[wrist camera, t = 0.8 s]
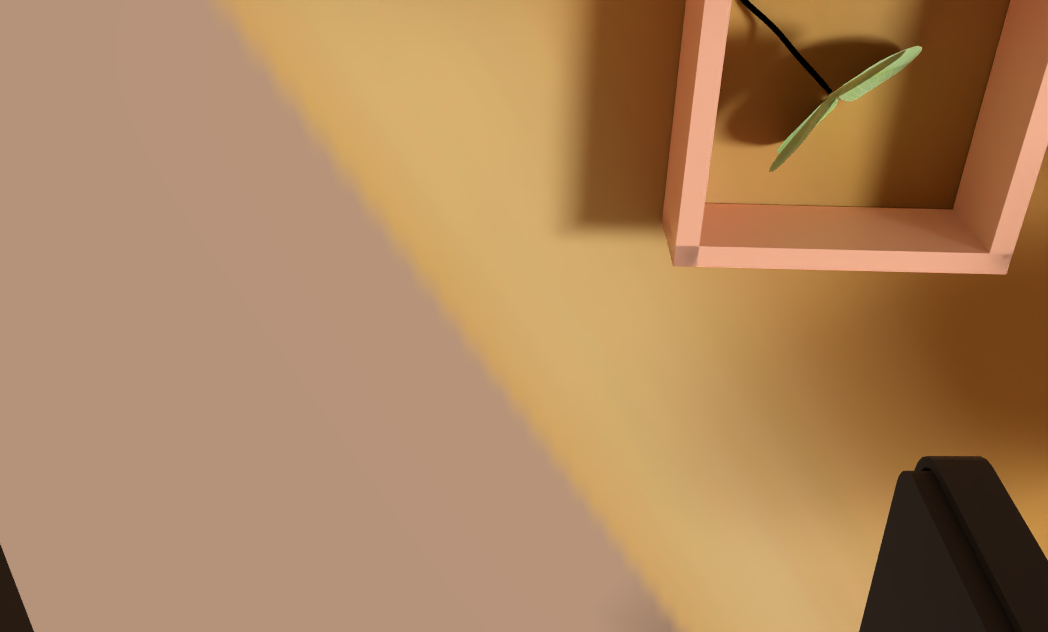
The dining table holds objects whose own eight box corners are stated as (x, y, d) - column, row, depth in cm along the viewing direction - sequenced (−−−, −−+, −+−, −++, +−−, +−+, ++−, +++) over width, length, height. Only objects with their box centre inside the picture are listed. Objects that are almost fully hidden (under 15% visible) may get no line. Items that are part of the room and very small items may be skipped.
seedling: (768, 0, 38) (869, 112, 37) (637, 83, 35) (742, 206, 34) (853, -122, 32) (974, 8, 31) (703, -33, 29) (831, 111, 29)
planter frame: (1062, -100, 32) (1118, -79, 29) (968, 229, 38) (1006, 274, 35) (698, -110, 32) (715, -90, 29) (661, 221, 38) (673, 266, 35)
